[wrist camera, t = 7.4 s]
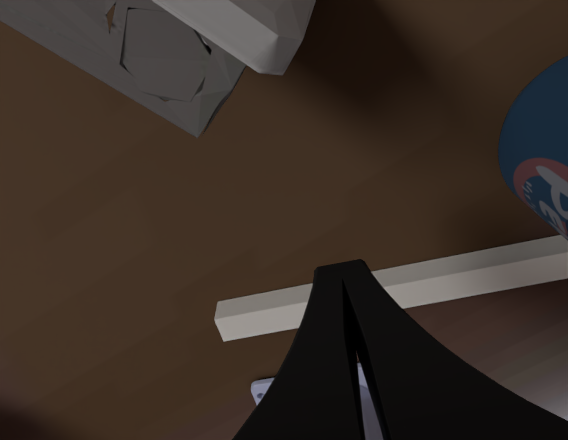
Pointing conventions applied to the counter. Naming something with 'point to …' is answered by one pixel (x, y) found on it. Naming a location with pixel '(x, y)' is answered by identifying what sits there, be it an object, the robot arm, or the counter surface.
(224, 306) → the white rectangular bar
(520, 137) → the soda can
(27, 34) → the electrical switch
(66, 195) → the counter surface
